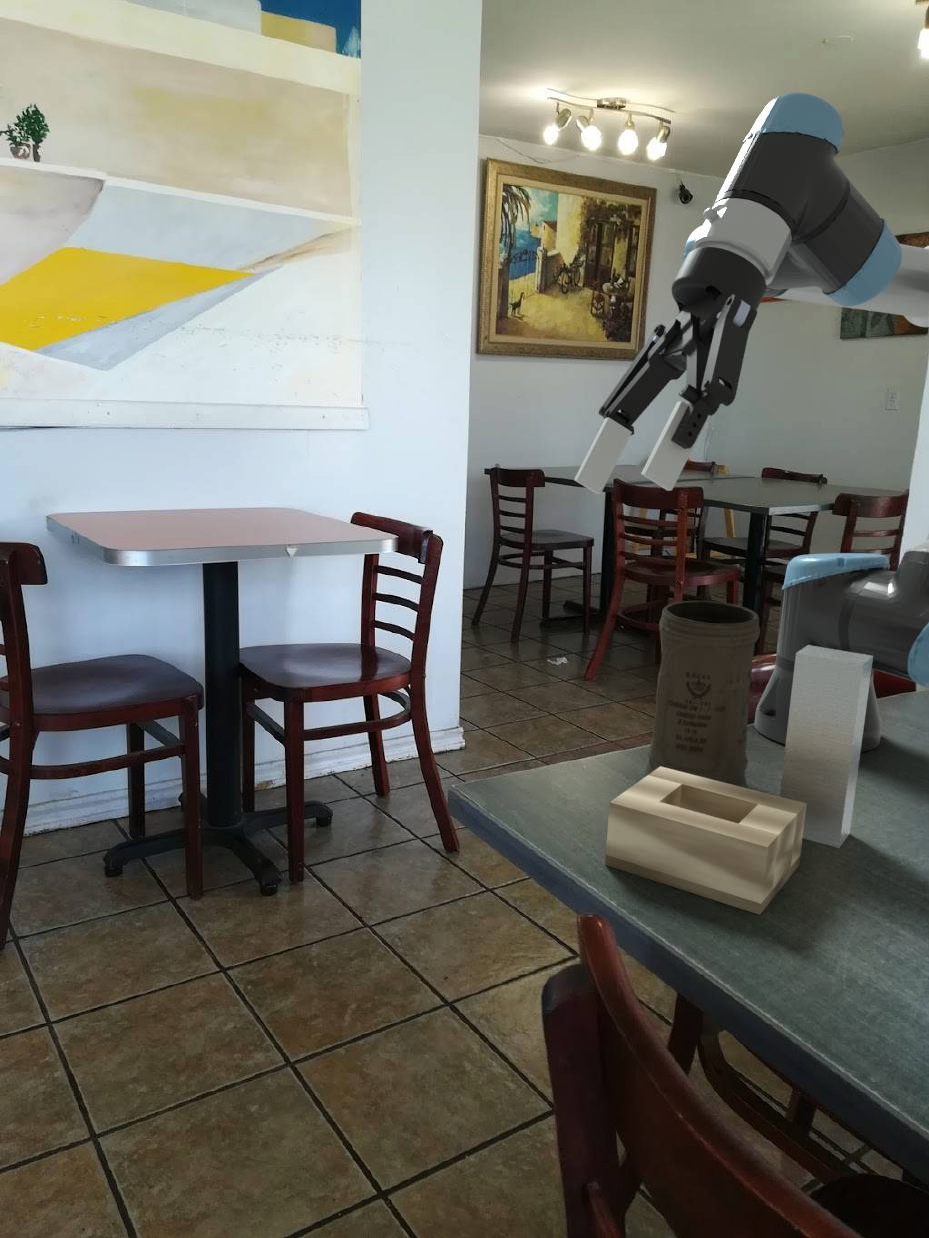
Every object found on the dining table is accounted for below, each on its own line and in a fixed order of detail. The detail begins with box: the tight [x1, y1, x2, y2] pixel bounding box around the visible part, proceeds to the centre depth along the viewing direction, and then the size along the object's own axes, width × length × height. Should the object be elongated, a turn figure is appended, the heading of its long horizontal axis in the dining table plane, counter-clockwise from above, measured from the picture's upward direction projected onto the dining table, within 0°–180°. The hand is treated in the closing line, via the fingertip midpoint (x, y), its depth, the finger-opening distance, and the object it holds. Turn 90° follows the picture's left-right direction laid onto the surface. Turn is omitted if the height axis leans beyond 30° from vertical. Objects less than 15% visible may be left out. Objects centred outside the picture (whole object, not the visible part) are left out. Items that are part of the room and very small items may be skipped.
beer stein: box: [643, 600, 761, 789], centre depth 105 cm, size 15×11×20 cm
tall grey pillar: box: [779, 645, 873, 849], centre depth 94 cm, size 4×6×18 cm, turn 56°
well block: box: [604, 766, 807, 916], centre depth 88 cm, size 11×14×6 cm
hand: (618, 485), depth 84 cm, fingers open, 13 cm apart
